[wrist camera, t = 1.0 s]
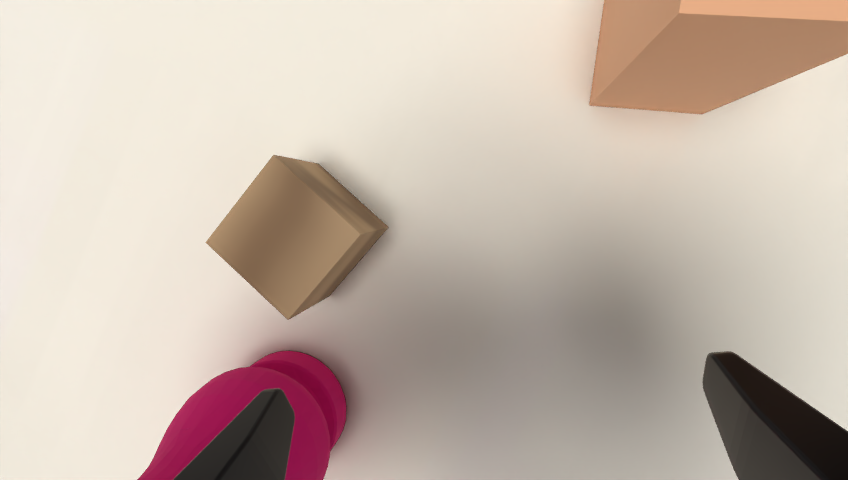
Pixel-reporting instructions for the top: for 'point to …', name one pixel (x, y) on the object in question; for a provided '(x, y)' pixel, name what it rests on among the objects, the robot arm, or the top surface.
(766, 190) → the top surface
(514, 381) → the top surface
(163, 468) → the pepper mill
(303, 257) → the walnut cube
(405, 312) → the top surface
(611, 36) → the terracotta block
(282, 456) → the robot arm
